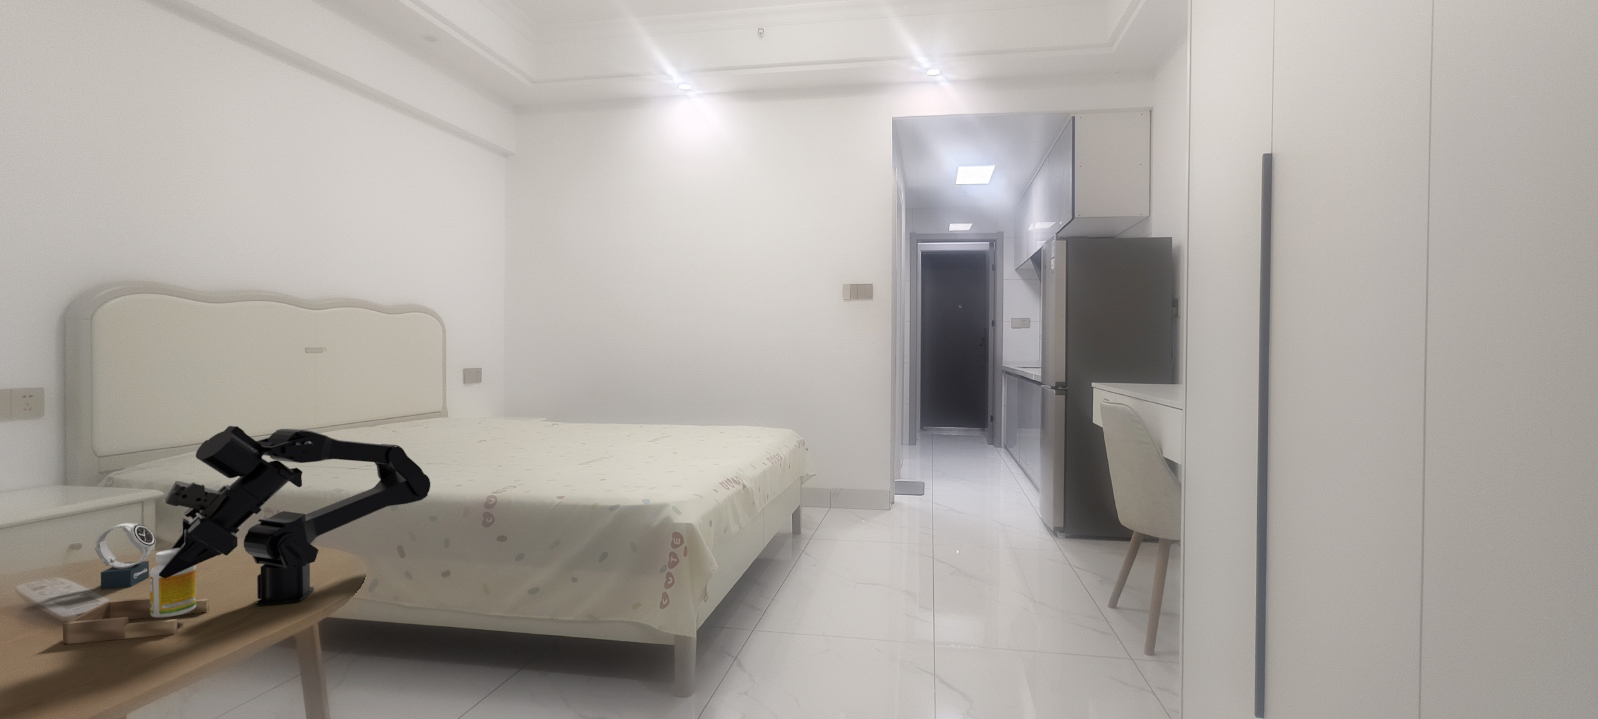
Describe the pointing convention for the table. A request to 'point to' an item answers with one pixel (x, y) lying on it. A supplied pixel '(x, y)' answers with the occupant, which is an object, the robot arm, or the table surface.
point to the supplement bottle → (171, 588)
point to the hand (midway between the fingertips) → (161, 572)
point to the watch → (126, 572)
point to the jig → (121, 622)
